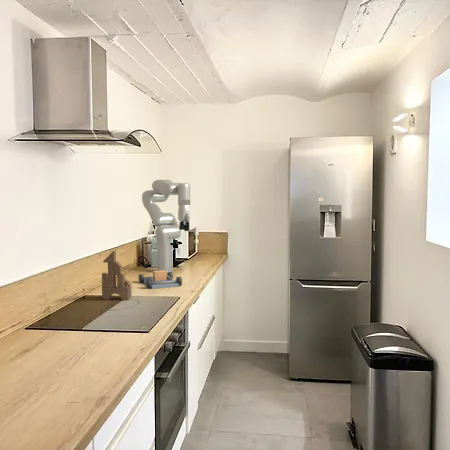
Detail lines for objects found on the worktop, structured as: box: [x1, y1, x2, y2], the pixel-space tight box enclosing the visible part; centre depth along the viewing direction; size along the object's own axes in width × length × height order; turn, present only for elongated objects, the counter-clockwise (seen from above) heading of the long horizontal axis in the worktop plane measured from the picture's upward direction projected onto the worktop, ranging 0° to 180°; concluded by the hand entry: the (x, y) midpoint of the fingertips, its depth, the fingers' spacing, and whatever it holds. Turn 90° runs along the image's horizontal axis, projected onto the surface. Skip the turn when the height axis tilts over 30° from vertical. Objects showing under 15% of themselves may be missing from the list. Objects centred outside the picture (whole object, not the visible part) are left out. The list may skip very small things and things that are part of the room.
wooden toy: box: [101, 250, 133, 301], centre depth 240 cm, size 16×7×25 cm, turn 83°
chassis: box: [138, 272, 183, 290], centre depth 278 cm, size 24×20×5 cm
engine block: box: [152, 270, 167, 281], centre depth 278 cm, size 5×7×6 cm
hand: (184, 230), depth 295 cm, fingers open, 9 cm apart
